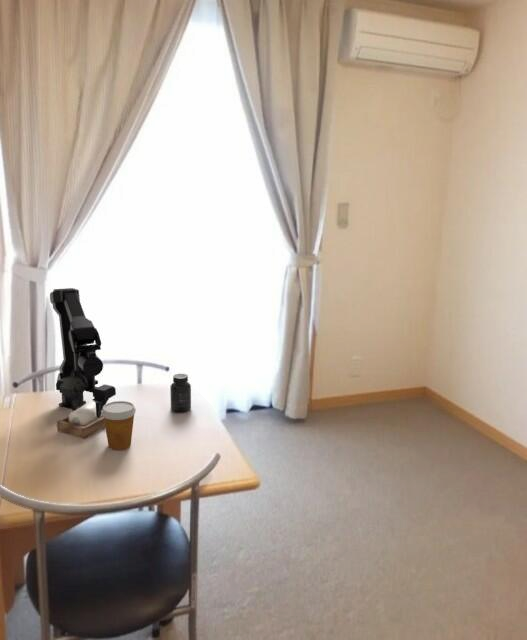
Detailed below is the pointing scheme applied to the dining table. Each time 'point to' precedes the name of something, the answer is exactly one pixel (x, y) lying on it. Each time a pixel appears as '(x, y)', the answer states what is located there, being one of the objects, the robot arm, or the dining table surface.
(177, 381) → the supplement bottle
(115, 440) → the disposable coffee cup
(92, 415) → the paper roll
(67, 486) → the dining table surface
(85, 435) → the walnut cradle
